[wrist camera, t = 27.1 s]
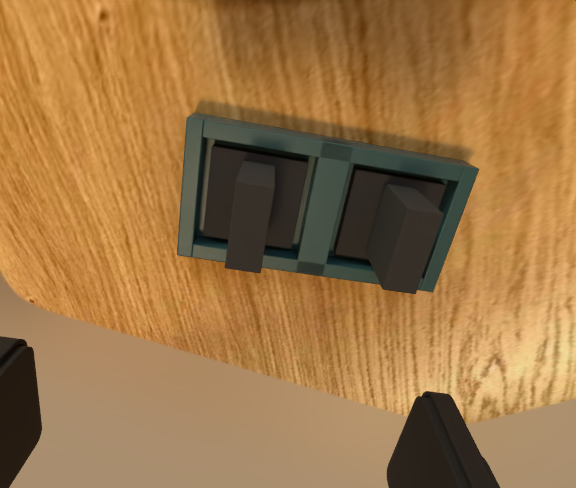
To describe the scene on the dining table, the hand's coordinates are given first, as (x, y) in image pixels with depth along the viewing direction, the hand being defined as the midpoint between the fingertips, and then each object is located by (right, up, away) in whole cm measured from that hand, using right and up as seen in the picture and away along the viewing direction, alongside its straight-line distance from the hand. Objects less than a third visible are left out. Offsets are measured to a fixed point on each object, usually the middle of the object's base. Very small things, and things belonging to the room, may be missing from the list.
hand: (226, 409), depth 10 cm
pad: (-1, +7, +17) cm, 18 cm away
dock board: (+4, +7, +18) cm, 20 cm away
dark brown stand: (+8, +6, +18) cm, 20 cm away
